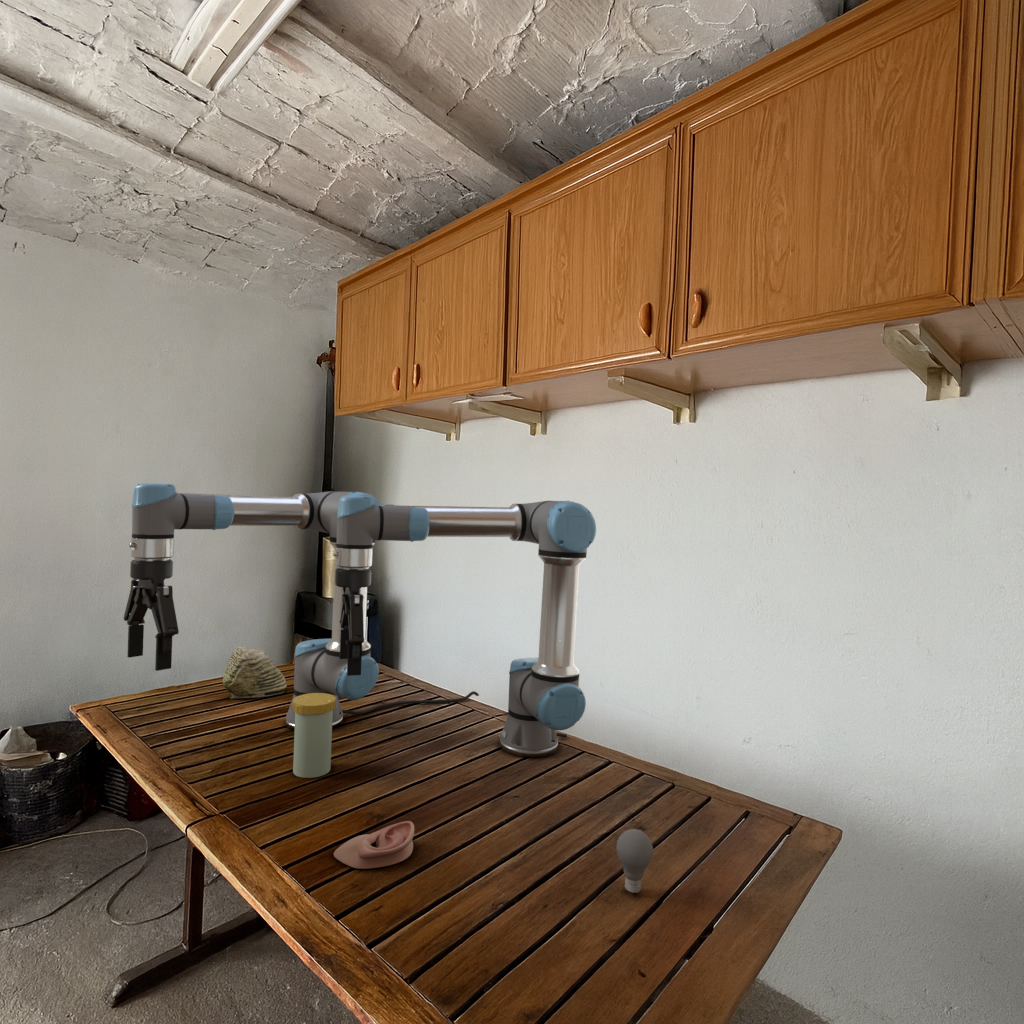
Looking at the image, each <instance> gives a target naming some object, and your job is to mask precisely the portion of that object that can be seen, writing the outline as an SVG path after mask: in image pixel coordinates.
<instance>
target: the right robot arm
mask: <svg viewBox="0 0 1024 1024" xmlns="http://www.w3.org/2000/svg"><path fill="white" fill-rule="evenodd" d="M592 513H593V512H591V511H590V509H588V507H586V506H585V505H584V504H581V503H579V502H575V501H570V500H542V501H541V500H540V501H536V502H527V503H526V502H525V503H512V504H511V505H510V506H507V507H506V506H505V507H504V506H457V505H456V506H455V505H454V506H451V505H397V504H384V505H382V506H377V505H375V503H374V498H373V497H369V496H342V497H341V498H340V499H339V504H338V515H337V545H336V547H337V549H336V550H337V552H335V551H334V552H332V556H333V557H335V556H337V557H336V565H337V566H339V568H337V569H336V570H335V569H334V573H335V585H336V586H338V587H343V594H342V607H341V617H340V624H341V625H340V627H341V636H340V659H348V662H347V676H353V675H361V661H362V643H364V625H363V598H364V596H363V594H360V588H361V587H367V588H368V587H370V586H371V584H372V570H371V568H370V567H372V566H373V551H374V549H373V546H372V543H373V540H375V541H393V542H411V543H413V542H422V541H423V542H424V541H425V540H426V539H427V538H433V537H434V538H509V539H510V540H511V541H513V542H526V543H531V544H535V545H538V550H537V551H538V553H537V556H538V557H539V558H540V560H541V561H542V562H543V574H542V589H541V590H542V591H541V605H540V606H541V608H540V626H539V643H538V657H521V658H515V659H514V660H512V661H511V662H510V667H509V671H508V675H509V677H508V678H509V680H508V704H507V707H508V709H507V717H506V719H505V722H504V724H503V728H502V730H501V733H500V736H499V747H500V748H501V749H502V750H503V751H504V752H506V753H508V754H509V755H514V756H517V757H521V758H543V757H547V756H550V755H553V754H555V753H556V752H557V750H558V749H559V740H558V737H560V738H565V739H566V738H567V737H568V735H567V733H562V732H557V731H565V730H569V729H571V728H572V727H573V726H575V725H576V724H577V723H578V722H579V721H580V720H581V719H582V718H583V715H584V713H585V711H586V706H587V701H586V696H585V694H584V691H583V689H581V688H580V686H579V685H580V669H579V668H578V667H577V666H576V665H575V662H574V661H575V647H576V629H577V615H578V614H577V613H578V595H579V582H580V581H579V579H580V566H581V564H582V563H584V561H586V560H587V554H588V548H589V547H590V545H591V544H593V542H594V541H595V538H596V535H597V524H596V523H597V522H596V519H595V517H594V515H593V514H592Z"/></svg>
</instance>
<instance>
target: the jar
mask: <svg viewBox="0 0 1024 1024" xmlns="http://www.w3.org/2000/svg"><path fill="white" fill-rule="evenodd" d="M332 715H333V710H332V711H330V712H327V713H323V714H316V715H305V714H299V713H296V712H295V730H294V732H293V733H294V737H293V759H292V760H293V761H292V773H293V774H294V775H295V776H296V777H298V778H304V779H313V778H314V779H315V778H319V777H322V776H325V775H327V774H328V773H330V771H331V767H332V765H331V763H332V742H333V741H332V740H333V737H332V736H333V729H332Z"/></svg>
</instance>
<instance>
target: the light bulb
mask: <svg viewBox="0 0 1024 1024" xmlns="http://www.w3.org/2000/svg"><path fill="white" fill-rule="evenodd" d="M615 849H616V854H617V857H618V859H619V861H620V863H621V865H622V867H623V873H624V874H623V875H624V876H625V878H624V888H625V890H627V891H628V892H630V893H634V894H635V893H639V892H640V891H641V889H642V887H641V886H642V879H643V877H644V875H645V871H646V868H647V867H648V866H649V864H650V863H651V861H652V859H653V855H654V847H653V843H652V841H651V838H649V836H648V835H647V834H646V833H645V832H643V831H642V830H641V829H636V828H629V829H627V830H625V831H623V832H622V833H621V834H620V835H619V837H618V839H617V841H616V847H615Z"/></svg>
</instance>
